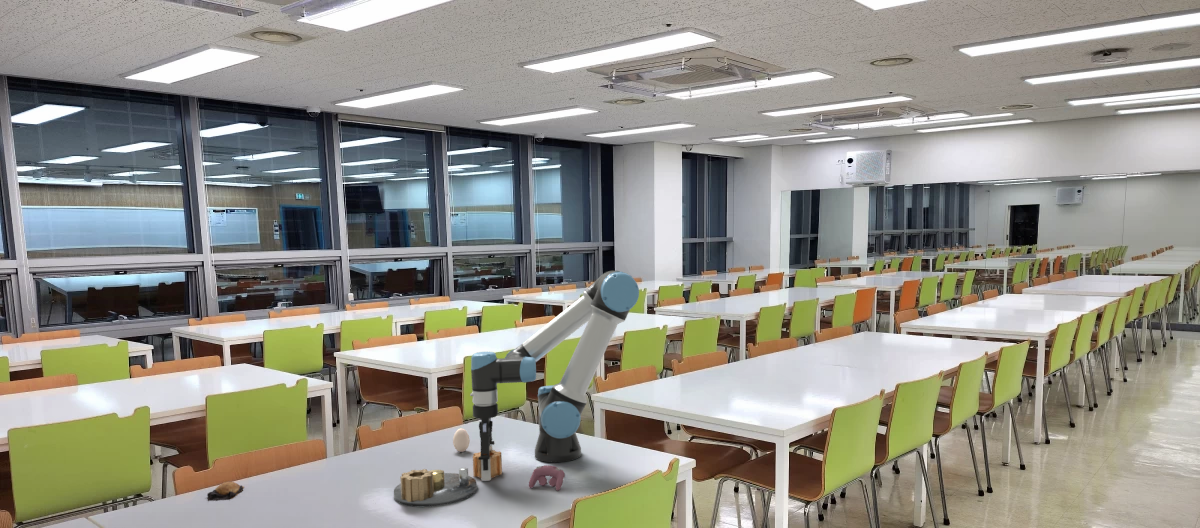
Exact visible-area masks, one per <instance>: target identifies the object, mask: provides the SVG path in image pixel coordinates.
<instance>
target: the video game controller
mask: <svg viewBox="0 0 1200 528" xmlns="http://www.w3.org/2000/svg"><path fill="white" fill-rule="evenodd" d="M565 476H566V474H565V471H564V470H563V469H561V468H559V467H557V466H554V465H549V464H548V465H547V464H546V465H539V466H536V467H535V468H534V470H533V471H532V473H531V476H530V479H529V481H528V487H529V489H533V488H534V486H535V485H536V483H537V482H538V483H539V485H540V486H542V487H545V486H546V485H547V484H548V485H549V486H550V487H553V488H554V487H555V490H556V491H557V492H558V491H560V490H561V489H562V486H563V483H564V479H565V478H566V477H565ZM547 477H551V478H550V479H549V480H548V479H547Z"/></svg>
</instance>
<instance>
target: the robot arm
mask: <svg viewBox="0 0 1200 528" xmlns="http://www.w3.org/2000/svg"><path fill="white" fill-rule="evenodd" d="M639 288H640V287H639V284H638V283H637V281H636V280H635V279H634V277H633V276H632V275H630V274H628V273H626V272H623V271H619V270H609V271H605V272H604V273H602V274H601V275H600V276H599V277H598V278H597V279H596V280H595V281H594V282H592V283H591V285H590V286H588V287H587V288H586V289H584V290H583V292H582V293H583V294H582V296H581V297H580V298H578V299H577V300H575V301H574V302H573V303H571V304H570V305H569V306H568V307H567V308H565V309H564V310H563V311H562V312H560V313H559V314H558V315H557V316H555V317H554V318H553V319H552V320H550V321H549V322H548V323H546V324H545V325H543V327H542V328H540V329H539V330H537V331H536V332H535V333H534V334H532V335H531V336H530V337H528V338H527V339H526V340H525V341H524V342H522V343H521V344H520V345H519V346H517V347H516V348H514V349H511V350H510V351H508V353H506V355H505V357H504V358H502V357H501V358H498V357H497V354H496V352H494V351H479V352H475V353H473V354H472V355H471V360H470V361H471V362H470V363H471V366H470V369H471V371H470V372H471V373H470V374H471V389H472V390H471V391H472V392H470V395H469V396H470V397H472V403H473V404H472V416H473V417H474V418H475V419H480V421H479V423H478V430H479V437H480V438H479V439H480V452H481V456H480V457H478V459H479V460H481V478H480V479H481V482H486V481H488V482H489V481H491V480H492V478H491V466H490V451H491V450H493V446H495V440H493V433H492V432H493V424H494V423H493V420H492V419H493V418H495V417H497V416H498V415H499V404H498V403H497V402H498V401H499V400H498V384H510V383H511V384H512V383H513V384H514V383H523V384H524V383H529V382H530V383H531V382H534V381H536V380H537V365H536V363H537V362H538V361H540V359H542V358H543V357H544V356H545V355H546V354H548V353H550V352H551V351H552V350H553V349H555V348H556V347H557V346H559V345H560V344H561V343H562V342H564V341H565V340H566V339H568V338H569V337H570V336H571V335H573V333H575V332H576V331H577V330H579V329H580V328H581V327H583V325H585V324H586V326H585V327H584V330H583V332H582V335H581V336H580V338H579V341H578V343H577V345H576V347H575V348H574V352H573V353H572V356H571V357H570V359H569V362H568V365H567V366H566V368H565V371H564V373H563V375H562V378H561V379H560V381H559V383H555V384H554V385H553V384H552V385H544V386H540V387H539V388H538V391H537V393H538V394H537V400H538V403H537V404H538V426H539V427H538V428H539V429H538V430H539V432H538V433H539V434H538V436H537V437H538V438H537V440H536V444H535V447H534V458H535V459H536V460H538V461H541V462H545V463H565V462H569V461H570V462H571V461H574V460H576V459H578V458H580V457H581V456H582V447H581V445H580V442H579V439H578V438H579V437H578V435H577V433H576V432H577V431H578V429H579V427H580V424H581V421H582V419H581V416H582V414H583V412H584V410H585V407H586V405H587V403H588V400H587V396H586V393H587V391H588V390H589V387H590V385H591V383H592V381H593V378H594V377H595V373H596V372H597V370H598V367H599V366H600V364H601V361H602V359H603V357H604V354H605V353H606V350H607V348H608V346H609V344H610V342H611V339H612V337H613V335H614V333H615V331H616V329H617V326H619V324H621V323H624V322H625V321H626V319H627V317H628V315H629V314H630V310H631V309H632V308H634V307H635V305H636V304H637V302H638V300H639V297H640V289H639ZM483 454H487V455H483Z"/></svg>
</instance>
